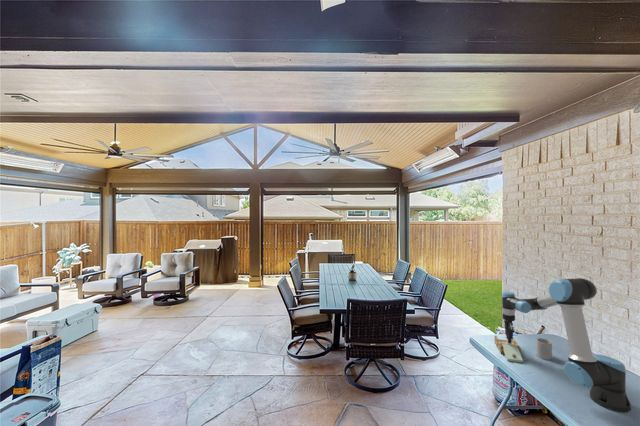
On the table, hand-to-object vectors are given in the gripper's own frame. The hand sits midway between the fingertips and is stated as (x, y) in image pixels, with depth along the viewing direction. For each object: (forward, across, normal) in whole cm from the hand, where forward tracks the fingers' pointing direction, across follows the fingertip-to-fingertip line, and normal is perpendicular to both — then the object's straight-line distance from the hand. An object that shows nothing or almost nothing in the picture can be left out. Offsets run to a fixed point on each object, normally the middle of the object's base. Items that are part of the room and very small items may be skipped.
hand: (509, 346), depth 198 cm
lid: (+2, -6, 0) cm, 7 cm away
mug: (+5, +3, -21) cm, 22 cm away
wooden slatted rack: (+4, +5, 0) cm, 6 cm away
